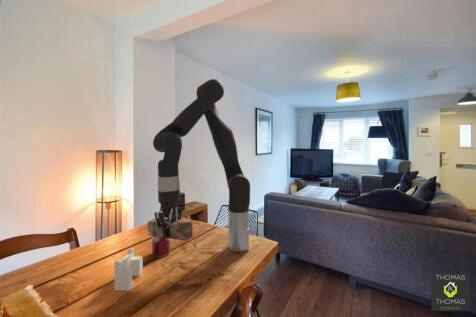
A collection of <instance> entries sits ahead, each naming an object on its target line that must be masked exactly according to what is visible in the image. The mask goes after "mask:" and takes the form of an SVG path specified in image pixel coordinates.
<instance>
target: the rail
mask: <svg viewBox="0 0 476 317" xmlns="http://www.w3.org/2000/svg"><path fill="white" fill-rule="evenodd" d="M166 222H167V221H165V224H166ZM161 224H162V223H161ZM147 229H148V231H147V232H148V234H147V235H148V236H149V237H152V236H156V237H163V228H159V227H158V225H157V222H156V219H155V218H153V219H151V220H148V221H147ZM169 232H170V237H169V238H170V240H171V239H173V240H178V241H185V242H187V241H189V240H191V238H193V234H194V232H193V222H188V221H187V222H186V221H180V220H178V221H170V224H169ZM163 238H164V237H163Z"/></svg>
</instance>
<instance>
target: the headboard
mask: <svg viewBox="0 0 476 317" xmlns="http://www.w3.org/2000/svg"><path fill="white" fill-rule="evenodd" d="M143 260H144V259H143V256H135V251H134V248H133V247H129V248H128V250H127V253H126V254H125V255H124V256H123V257H122V258H121V259H117V260H115V262H114V266H113V267H114V268H113V269H114V270H113V272H114V273H113V275H114V277H113V278H114V291H115V292H116V291H117V292H118V291H120V292H122V291H128V292H130V290H131V289H132V288H133V283H134V282H133V277H141V275H142V274H143V272H144V269H143V268H144V264H143Z"/></svg>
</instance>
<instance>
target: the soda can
mask: <svg viewBox="0 0 476 317" xmlns="http://www.w3.org/2000/svg"><path fill="white" fill-rule="evenodd" d="M151 247H152V248H151V252H152V253H151V254H152V255H153V256H154V257H155V258H163V257H166V256H168V255H169V254H170V253H171V239H170V238H163V237H156V236H151Z"/></svg>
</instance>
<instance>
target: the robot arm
mask: <svg viewBox="0 0 476 317" xmlns="http://www.w3.org/2000/svg"><path fill="white" fill-rule="evenodd" d="M224 94H225V87H224V85H223V83H222V82H221V81H220V80H218V79H215V78H211V79H208V80H206V81H205V82H204V83H202V84H201V85H199V86H198V87H197V89H196V99H195V100H193V101H192V102H191V103H190V104H189V105H188V106H186V107H185V108H184V109H183V110H182V111H180V113H179V114H177V116H176V117H175V118H174V120H172V122H171V123H169V124H168V125H166V126H165V127H164V128H162V129H161V130H160V131H159V132H158V133H157V134H156V135H155V136H154V137H153V141H152V146H153V148H154V149H155V151H157V152H159V153H164V155H163V157H162V159H159V161H158V163H157V176H158V177H157V199H158V200H157V201H158V203H159V204H160V207H159V210H158V212H157V211H156V212H154V213H153V214H154V219H156V222H157V225H158V227H159V228H163V237H164V238H169V237H170V232H169V224H170V221H180V220H181V219H182V214H183V206H184V204H183V203H179V201H180V200H181V190H180V188H181V187H180V184H181V183H180V178H179V177H180V176H179V163H180V160H181V155H182V154H181V153H182V149H183V142H182V141H183V140H182V138H183V137H185V136H187V135H189V133H190V131H192V130H193V128H194V127H195V126H196V124H197V123H198V122H199V120H201V118H202V117H203V116H204V117H205V120H206V123H207V126H208V129H209V131H210V134H211V138H212V141H213V145H214V148H215V150H216V153H217V155H218V157H219V160H220V162H221V164H222V167H223V169H224V174H225V178H226V183H227V187H228V206H227V207H228V208H227V210H228V213H227V215H228V217H227V221H228V222H227V224H228V225H227V229H228V232H227V234H228V235H227V238H228V240H227V243H228V244H227V246H228V247H227V248H228V250H229V251H231V252H235V253H241V252H242V253H243V252H246V251H250V224H249V223H250V222H249V221H250V220H249V218H250V217H249V216H250V213H249V212H250V210H249V209H250V205H251V203H250V201H251V184H250V181H249V179H248V178H247V177H246V176H245V174H244V172H243V170H242V167H241V165H240V162H239V156H238V149H237V142H236V139H235V136H234V133H233V130H232V128H231V127H230V125H229V124H228V123H227V122H226V121H225V120H224V119H223V118H222V117H221V116H220V113H219V111H218V109H217V105H216V103H217V102H219V101H220V100H221V99H223V97H224ZM165 221H167V222H166V224H165ZM161 223H162V224H161Z"/></svg>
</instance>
